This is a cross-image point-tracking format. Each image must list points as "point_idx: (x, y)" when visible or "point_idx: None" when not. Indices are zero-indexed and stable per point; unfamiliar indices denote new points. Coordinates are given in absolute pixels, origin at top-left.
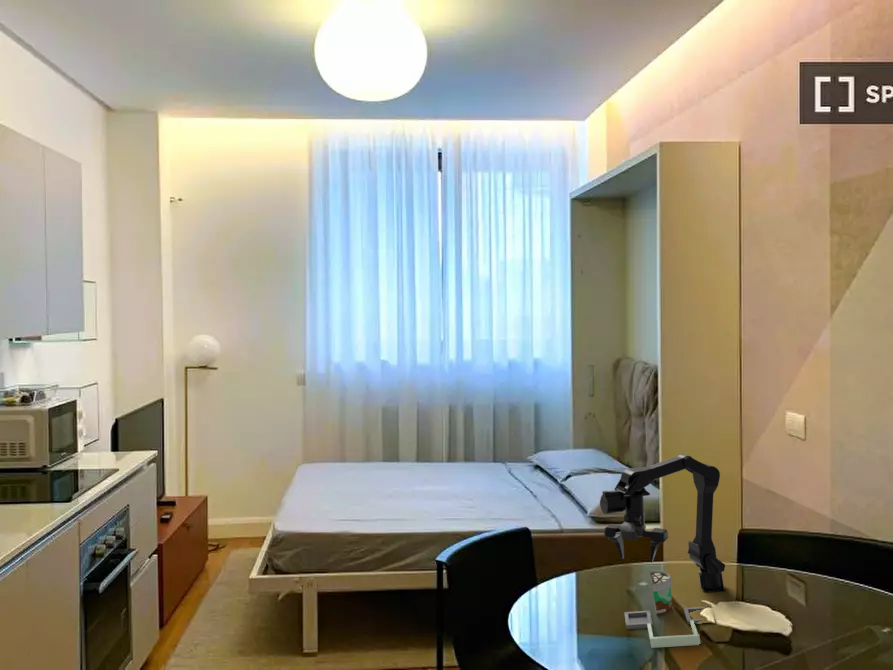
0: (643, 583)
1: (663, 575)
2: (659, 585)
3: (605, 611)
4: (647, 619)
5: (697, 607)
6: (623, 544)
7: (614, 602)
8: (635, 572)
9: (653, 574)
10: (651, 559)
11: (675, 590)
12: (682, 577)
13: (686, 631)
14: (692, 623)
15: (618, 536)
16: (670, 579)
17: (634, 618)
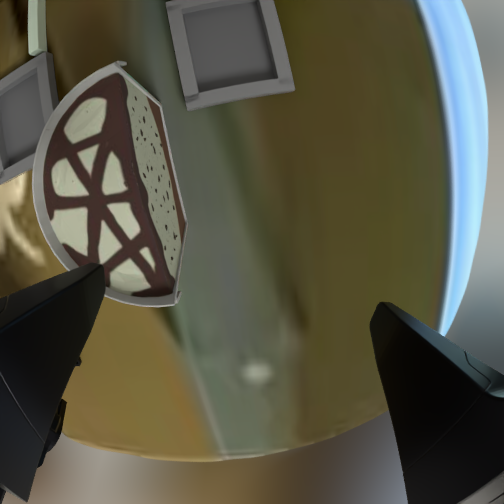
0: (255, 372)
1: (90, 260)
2: (79, 89)
3: (368, 140)
4: (193, 63)
5: (25, 168)
6: (396, 440)
7: (344, 222)
8: (286, 421)
9: (150, 275)
10: (79, 271)
11: (139, 330)
12: (149, 404)
13: (60, 13)
14: (33, 32)
15: (498, 478)
16: (37, 194)
17: (248, 67)
